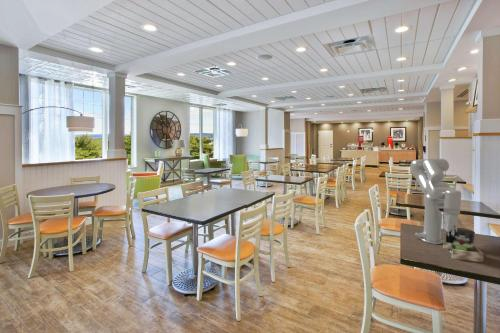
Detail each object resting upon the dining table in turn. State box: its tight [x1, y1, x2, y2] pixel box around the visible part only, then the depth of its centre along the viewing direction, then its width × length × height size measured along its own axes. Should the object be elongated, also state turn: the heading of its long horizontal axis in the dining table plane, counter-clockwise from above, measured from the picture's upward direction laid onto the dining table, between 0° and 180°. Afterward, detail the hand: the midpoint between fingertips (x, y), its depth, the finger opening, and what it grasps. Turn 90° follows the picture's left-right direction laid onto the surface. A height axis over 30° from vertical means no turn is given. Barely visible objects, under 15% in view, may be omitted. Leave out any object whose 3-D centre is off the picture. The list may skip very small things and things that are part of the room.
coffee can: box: [449, 227, 476, 254], centre depth 159 cm, size 10×10×14 cm
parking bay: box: [442, 239, 485, 263], centre depth 159 cm, size 14×16×5 cm
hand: (449, 242), depth 160 cm, fingers closed
